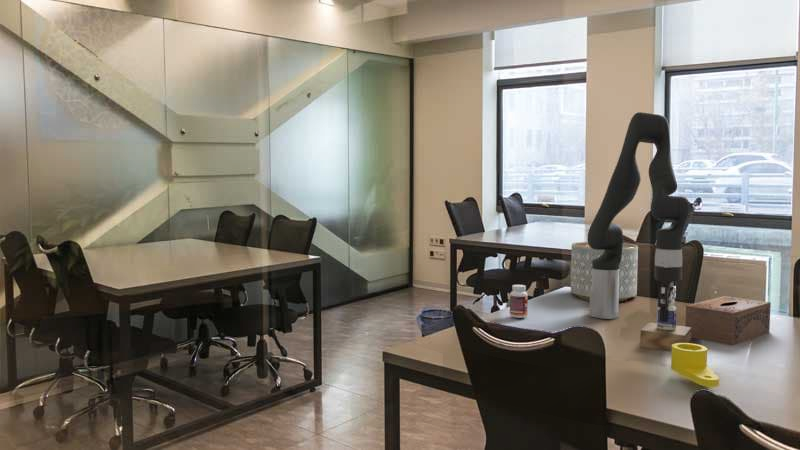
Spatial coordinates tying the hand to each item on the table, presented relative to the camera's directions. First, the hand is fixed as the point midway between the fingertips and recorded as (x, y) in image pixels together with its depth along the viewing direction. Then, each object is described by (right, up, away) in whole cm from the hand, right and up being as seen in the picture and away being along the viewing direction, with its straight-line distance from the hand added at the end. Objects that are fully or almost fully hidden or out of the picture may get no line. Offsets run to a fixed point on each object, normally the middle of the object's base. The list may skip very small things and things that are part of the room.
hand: (666, 318), depth 193 cm
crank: (-4, -10, -28) cm, 30 cm away
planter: (+4, -3, +72) cm, 73 cm away
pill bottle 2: (0, -3, 0) cm, 3 cm away
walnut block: (0, -8, +1) cm, 8 cm away
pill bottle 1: (-36, -5, +41) cm, 55 cm away
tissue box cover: (+25, -7, +14) cm, 30 cm away
